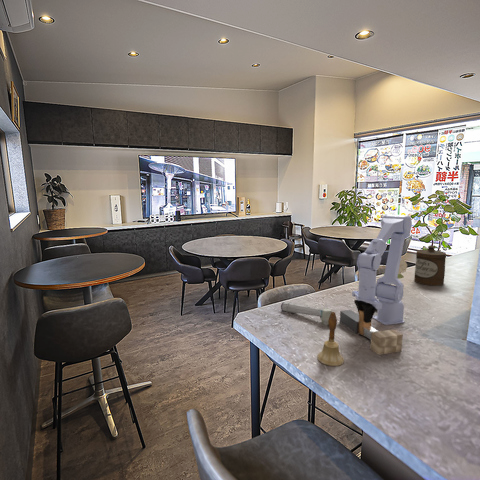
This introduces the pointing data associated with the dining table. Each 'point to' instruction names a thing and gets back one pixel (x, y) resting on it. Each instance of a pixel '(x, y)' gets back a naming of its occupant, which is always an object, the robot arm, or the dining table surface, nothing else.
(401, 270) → the flower in vase
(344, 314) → the sleeve
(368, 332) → the brown and grey block
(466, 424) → the dining table surface
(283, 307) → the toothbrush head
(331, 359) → the hand bell
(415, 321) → the dining table surface
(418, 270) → the wooden container
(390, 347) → the socket block
